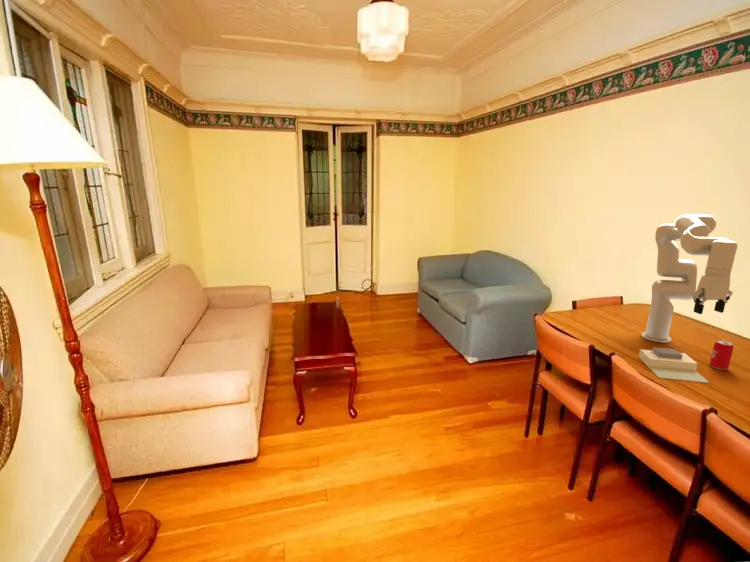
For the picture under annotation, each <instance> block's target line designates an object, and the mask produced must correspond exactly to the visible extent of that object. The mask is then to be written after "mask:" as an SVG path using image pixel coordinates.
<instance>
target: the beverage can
mask: <svg viewBox="0 0 750 562" xmlns="http://www.w3.org/2000/svg"><path fill="white" fill-rule="evenodd" d="M733 352H734V344H733V343H732V342H731V341H729V340H724V339H723V340H722V339H718V340H716V341H715V343H714V344H713V348H712V353H711V356H710V360H709V365H710V366H711V367H712V368H714V369H715V370H724V371H725V370H728V369H729V367H730V364H731V363H730V362H731V359H732V356H733Z"/></svg>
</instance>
